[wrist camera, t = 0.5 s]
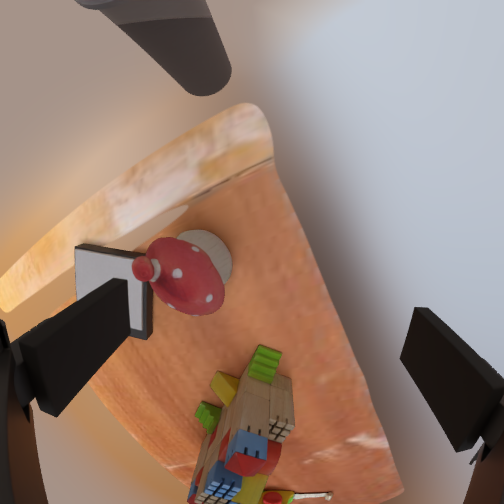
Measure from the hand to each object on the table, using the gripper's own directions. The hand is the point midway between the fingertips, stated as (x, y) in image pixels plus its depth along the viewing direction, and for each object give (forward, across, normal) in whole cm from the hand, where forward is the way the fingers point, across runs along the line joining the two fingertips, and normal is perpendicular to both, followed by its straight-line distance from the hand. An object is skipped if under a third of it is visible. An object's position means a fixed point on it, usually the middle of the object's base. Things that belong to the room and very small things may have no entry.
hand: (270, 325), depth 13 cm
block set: (+26, -2, -30) cm, 40 cm away
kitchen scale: (+26, -22, -10) cm, 36 cm away
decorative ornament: (+26, -8, -4) cm, 28 cm away
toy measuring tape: (+26, +10, -56) cm, 63 cm away
